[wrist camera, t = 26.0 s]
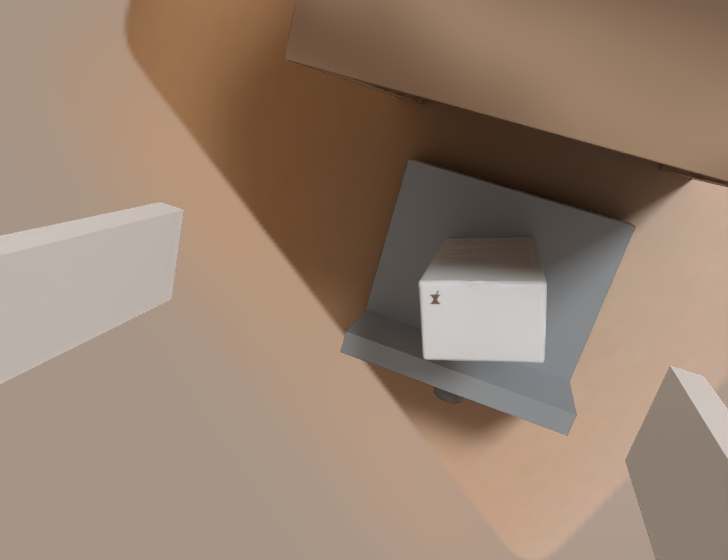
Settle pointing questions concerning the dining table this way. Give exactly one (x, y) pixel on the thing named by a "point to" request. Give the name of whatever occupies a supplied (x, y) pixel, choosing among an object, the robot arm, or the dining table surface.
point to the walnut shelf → (545, 66)
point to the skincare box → (484, 301)
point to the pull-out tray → (489, 220)
